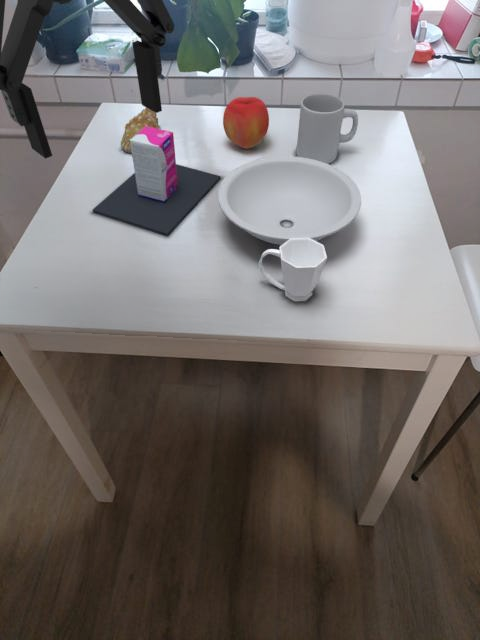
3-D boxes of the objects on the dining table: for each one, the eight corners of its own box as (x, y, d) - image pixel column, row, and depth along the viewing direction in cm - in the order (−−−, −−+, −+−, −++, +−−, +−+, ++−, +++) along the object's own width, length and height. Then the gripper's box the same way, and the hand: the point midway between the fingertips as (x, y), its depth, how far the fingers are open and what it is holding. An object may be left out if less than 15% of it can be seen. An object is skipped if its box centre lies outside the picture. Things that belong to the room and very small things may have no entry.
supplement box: (165, 204, 90) (157, 146, 82) (137, 197, 92) (127, 139, 83) (179, 187, 94) (173, 130, 85) (152, 181, 95) (143, 124, 87)
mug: (300, 167, 100) (305, 114, 91) (292, 145, 105) (296, 94, 97) (357, 163, 100) (367, 111, 92) (347, 142, 106) (355, 91, 98)
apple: (275, 152, 104) (277, 105, 96) (232, 160, 101) (232, 113, 94) (258, 131, 110) (259, 85, 102) (218, 138, 107) (216, 92, 100)
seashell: (125, 149, 110) (129, 102, 107) (161, 156, 111) (166, 109, 108) (117, 151, 102) (120, 99, 98) (156, 158, 103) (161, 106, 99)
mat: (93, 212, 90) (92, 209, 89) (152, 160, 102) (151, 157, 101) (167, 236, 85) (167, 233, 85) (220, 178, 97) (220, 176, 96)
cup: (315, 312, 73) (321, 273, 67) (251, 297, 75) (252, 257, 69) (325, 281, 77) (332, 242, 71) (265, 268, 79) (266, 228, 73)
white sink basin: (191, 233, 85) (188, 201, 81) (269, 173, 98) (271, 142, 93) (308, 291, 76) (312, 259, 71) (378, 216, 88) (386, 185, 83)
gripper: (-128, -127, 28) (6, 190, 44) (199, -158, 40) (211, 102, 56) (-166, -138, 32) (-30, 159, 48) (144, -164, 43) (170, 82, 59)
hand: (100, 129), depth 52 cm, fingers open, 13 cm apart
